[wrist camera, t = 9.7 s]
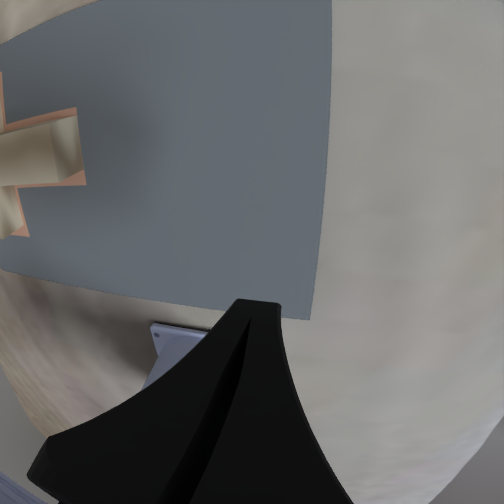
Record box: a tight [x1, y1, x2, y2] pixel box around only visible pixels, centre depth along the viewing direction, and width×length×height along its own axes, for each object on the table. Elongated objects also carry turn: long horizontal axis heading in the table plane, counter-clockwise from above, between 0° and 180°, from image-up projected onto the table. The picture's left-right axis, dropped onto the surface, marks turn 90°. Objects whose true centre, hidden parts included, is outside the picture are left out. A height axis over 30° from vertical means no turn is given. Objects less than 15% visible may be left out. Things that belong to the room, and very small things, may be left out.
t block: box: [0, 95, 84, 239], centre depth 17 cm, size 12×12×2 cm
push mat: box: [0, 0, 332, 320], centre depth 18 cm, size 20×29×1 cm
